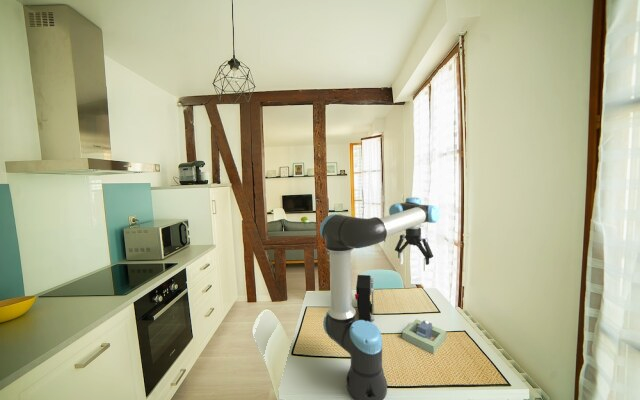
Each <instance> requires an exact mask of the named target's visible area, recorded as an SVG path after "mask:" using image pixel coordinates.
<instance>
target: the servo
mask: <svg viewBox="0 0 640 400" xmlns="http://www.w3.org/2000/svg"><path fill="white" fill-rule="evenodd" d="M432 326H433V323H432V322H429V321H428V320H423V321H422V323H421V324H420V325H419V326H418V330H416V332H415V333H416V334H417V335H419V336H422V337H424V338H427V339H429V340H431V339H432V338H433V337H432V329H433V327H432Z"/></svg>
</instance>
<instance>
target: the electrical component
mask: <svg viewBox="0 0 640 400" xmlns="http://www.w3.org/2000/svg"><path fill="white" fill-rule="evenodd" d="M356 279H357V280H356V287H355V288H356V289H355V290H356V291H355V294H354V299H355V301H356V305H357V306H356V308H357V310H358V320H364V321H369V322H371V323H372V321H375V316H373V315H374V308H375V307H374V305H375V304H374V292H375V289H374V282H375V281H374V278H372V276H371V275H370V274H369V275H366V274H357V277H356Z"/></svg>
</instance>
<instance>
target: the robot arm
mask: <svg viewBox="0 0 640 400" xmlns="http://www.w3.org/2000/svg"><path fill="white" fill-rule="evenodd" d="M388 213H389V215H386V216H383V217H380V218H379V217H378V216H377V217H376V216H374V217H370V218H362V217H356V216H349V215H343V214H338V213H337V214H336V213H334V214H333V213H332V214H329V215H327V216H326V217H324V219H323V220H322V221H321V224H320V227H319V233H320V237H321V238H322V239H323V240H324V241H325V250H326V251H328V252H329V269H330V271H329V274H330V298H331V299H330V302H331V303H330V305H331V306H329V308H328V310H327V312H326V313H325V316H324V318H323V323H322V324H323V329H324V332H325V333H326V334H327V335H328V337H329V338H330V339H331V340H332V341H334V342H335V343H336V344H337V345H339V347H341V348H342V349H344V351H346V352H347V353H348V354H349V356H350V367H349V370H348V371H347V375H346V390H347V392H348V393H349V396H351V398H352V399H353V400H384V399H385V398H386V396H387V393H388V384H387V383H388V382H387V379H386V377H385V374H384V372H383V371H384V370H383V338H382V332H381V330H380V328H379V327H378V326H377V325H376V324H375V323H373V322H372V321H371V322H369V321H364V320H359V319H358V320H357V314H356V309H355V307H354V306H353V299H352V298H353V297H352V295H353V293H352V289H353V288H352V262H351V259H352V256H351V254H352V253H351V252H352V251H353V250H354V249H361V248H366V247H371V246H373V245H377V244H379V243H380V244H381V243H383V242H384V241H386V239H387V237H389V236H394V235H395V234H399V233H401V232H403V231H405V234H403V233H402V234H400V235H399V240H398V241H397V243H396V246H395V248H394V251H395V252H397V257H398V258H397V259H399V266H403V264H404V252H403V251H404V250H405V249H406V248H407V246H408V245H409V246H410V245H411V246H416V247H417V248H418V250H420V252H421V254H422V255H423V257H424V258H423V272H426V271H428V265H430V259H432V258H433V257H434V254H433V252H432V250H431V248H430V245H429V243H428V242H429V241H428V238H427V237H426V238H423V237H422V224H424V223H429V224H430V223H431V224H432V223H433V224H434V223H437V222H438V221H439V219H440V216H441V211H440V208H439V207H438V206H436V205H432V204H422V199H421V198H420V197H407V198H405V202H399V203H397V202H396V203H393V204H392V205H390V206H389V208H388ZM404 240H406V241H405V242H404ZM402 244H403V245H402Z"/></svg>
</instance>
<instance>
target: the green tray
mask: <svg viewBox="0 0 640 400" xmlns="http://www.w3.org/2000/svg"><path fill="white" fill-rule="evenodd" d="M422 322H423V321H421V320H419V319H417V318H416V319H415V320H413V322H411V323H410V324H409V325H408V326H407V327H405V329H403V331H402V334H401V335H402V336H401V337H402V340H404V341H406V342H409V343H410V344H412V345H415V346H416V347H418V348H420V349H423V350H424V351H426V352H428V353H430V354H433V355H434V354H435V353H436V352H437V351H438V349H440V347H441V346H442V344H443V343H444V342H445V341H446V340H447V331H446V330H444V329H441V328H438V327H437V326H434V325H432V327H433V329H432V337H431V338H434V340H431V339H430V340H429V339H427V338H424V337H422V336H419V335H417V334H416V332H415V331H418V326H419V325H420V324H421V323H422Z"/></svg>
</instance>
